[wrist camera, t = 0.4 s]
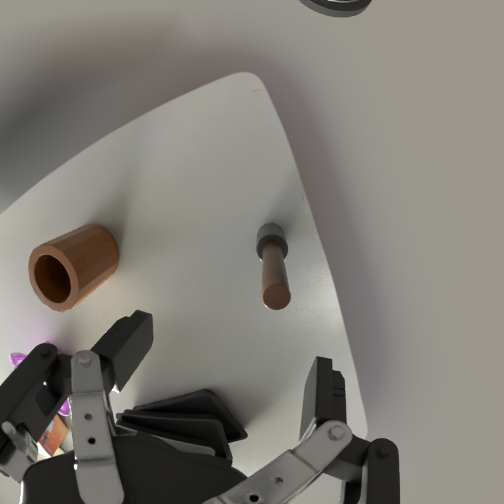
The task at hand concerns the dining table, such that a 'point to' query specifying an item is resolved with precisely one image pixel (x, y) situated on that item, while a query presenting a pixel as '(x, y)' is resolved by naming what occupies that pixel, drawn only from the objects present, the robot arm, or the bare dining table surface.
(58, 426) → the small box
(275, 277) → the brush
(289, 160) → the dining table surface
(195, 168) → the dining table surface
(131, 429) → the tray
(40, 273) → the brown cylindrical holder
